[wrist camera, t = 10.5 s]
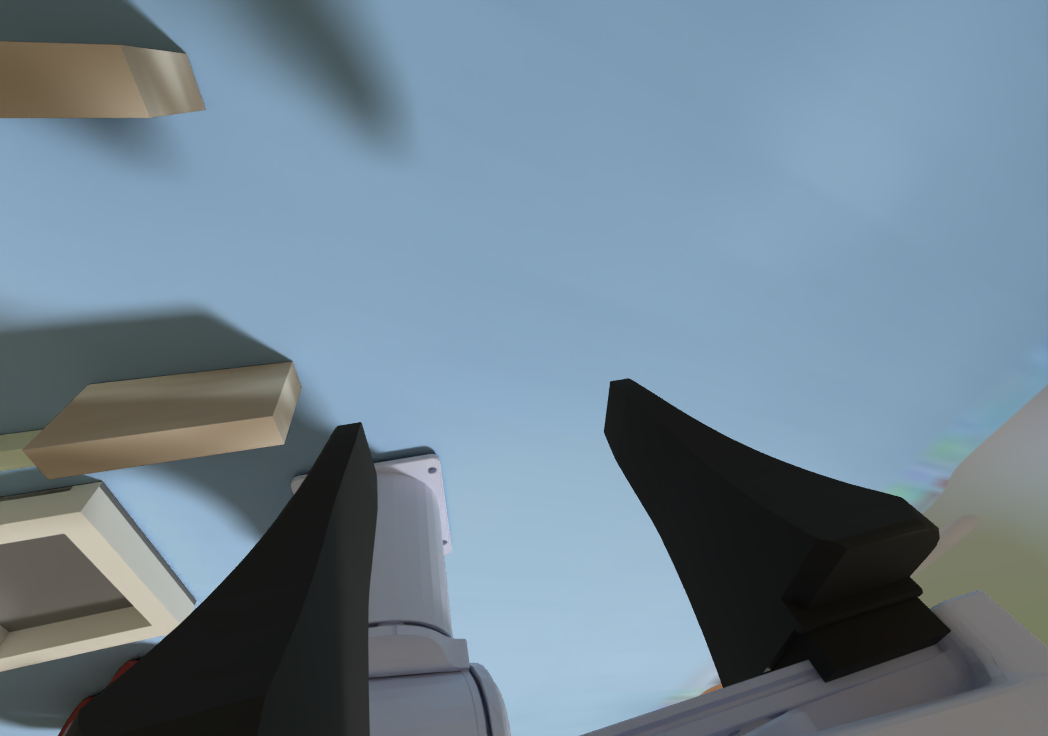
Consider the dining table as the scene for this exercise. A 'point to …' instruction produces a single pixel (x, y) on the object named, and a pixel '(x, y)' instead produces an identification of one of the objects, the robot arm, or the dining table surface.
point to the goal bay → (15, 450)
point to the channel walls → (158, 402)
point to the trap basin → (79, 577)
